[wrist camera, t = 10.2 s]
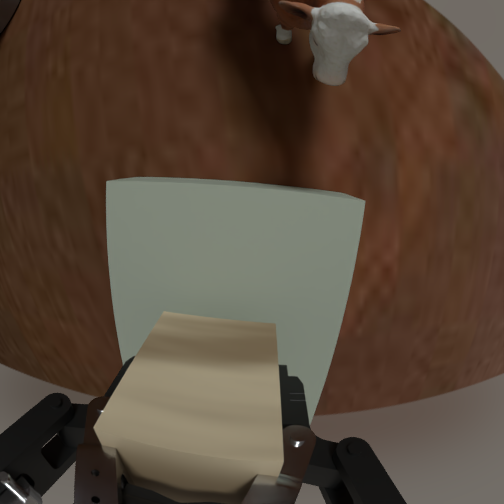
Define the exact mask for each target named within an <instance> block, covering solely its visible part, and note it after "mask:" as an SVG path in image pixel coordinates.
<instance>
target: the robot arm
mask: <svg viewBox="0 0 504 504" xmlns="http://www.w3.org/2000/svg"><path fill="white" fill-rule="evenodd" d="M19 1H20V0H0V33H1V32H2V31H3V29H4V28H5V26H6V25H7V23H8V22H9V20H10V18H11V17H12V15H13V13H14V12H15V10H16V8H17V6H18V4H19ZM134 358H135V356H133V357H131V358H130V359H128V360H127V361H126V362H125V363H124V365H123V367H122V368H121V370H120V371H119V373H118V376H116V378H115V379H114V381H113V383H112V384H111V386H110V387H109V389H108V391H107V392H106V394H105V396H101V397H97V398H95V399H93V400H92V401H91V402H90V403H89V404H73V403H71V402H70V399H69V398H68V397H67V396H66V395H64V394H61V393H53V394H50V395H48V396H46V397H45V398H44V399H43V400H41V401H40V402H39V403H38V404H37V405H35V406H34V407H33V408H32V409H30V410H29V411H28V412H27V413H26V414H25V415H23V416H22V417H21V418H20V419H18V420H17V421H16V422H15V423H14V424H12V425H11V426H10V427H9V428H8V429H6V430H5V431H4V432H3V433H2V434H0V504H42V498H41V497H42V496H43V494H45V493H46V491H47V490H48V489H49V488H50V487H51V486H52V485H53V484H54V483H55V482H56V481H57V480H58V479H59V478H60V477H61V476H62V475H63V474H64V473H65V472H66V470H67V469H68V468H69V467H70V466H71V465H72V464H73V463H74V462H75V461H76V466H75V485H74V503H73V504H225V503H217V502H189V503H181V502H177V501H174V500H172V499H170V498H168V497H165V496H163V495H161V494H159V493H157V492H155V491H153V490H149V489H146V488H142V487H139V486H135V484H134V482H133V480H132V479H131V477H130V475H129V473H128V471H127V469H126V467H125V465H124V463H123V461H122V459H121V457H120V455H119V453H118V451H117V449H116V448H114V447H109V446H104V445H102V444H101V442H100V440H99V438H98V436H97V434H96V432H95V430H94V428H93V427H94V426H95V424H96V422H97V420H98V418H99V417H100V415H101V413H102V411H103V410H104V408H105V406H106V405H107V403H108V401H109V399H110V398H111V396H112V394H113V393H114V391H115V389H116V388H117V386H118V384H119V382H120V381H121V379H122V377H123V376H124V374H125V372H126V371H127V369H128V368H129V366H130V364H131V363H132V361H133V359H134ZM278 365H279V364H278ZM279 381H280V397H281V415H282V434H283V454H284V463H283V466H282V468H281V471H280V474H279V476H278V477H276V476H269V475H261V474H258V475H257V477H256V478H255V480H254V482H253V484H252V486H251V488H250V489H249V491H248V493H247V495H246V497H245V498H244V500H243V502H242V504H295V501H296V499H297V496H298V494H299V491H300V489H301V486H302V483H306V484H311V485H316V486H319V489H320V491H321V493H322V495H323V498H324V500H325V502H326V504H407V503H406V502H405V500H404V499H403V497H402V496H401V494H400V492H399V491H398V490H397V488H396V486H395V485H394V483H393V482H392V480H391V479H390V477H389V475H388V474H387V472H386V471H385V469H384V467H383V466H382V464H381V463H380V461H379V460H378V458H377V456H376V455H375V453H374V452H373V450H372V449H371V447H370V446H369V444H368V443H367V442H366V441H364V440H362V439H360V438H356V437H349V438H345V439H343V440H341V441H340V442H339V443H336V442H331V441H327V440H323V439H321V438H319V437H317V436H316V435H315V434H314V433H313V431H312V430H311V429H310V425H309V418H308V411H307V405H306V398H305V392H304V385H303V383H302V382H301V380H300V379H299V378H298V376H288V370H287V365H279ZM56 433H57V435H56V436H55V437H54V438H52V437H53V436H54V435H55V434H56ZM51 438H52V440H50V439H51ZM49 440H50V441H49ZM48 441H49V442H48ZM47 442H48V443H47ZM45 443H47V444H46V445H45ZM44 445H45V446H44ZM43 446H44V447H43ZM42 447H43V448H42Z"/></svg>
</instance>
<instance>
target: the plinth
mask: <svg viewBox="0 0 504 504" xmlns="http://www.w3.org/2000/svg"><path fill="white" fill-rule="evenodd" d="M364 207H365V201H364V200H361V199H358V198H355V197H352V196H350V195H347V194H344V193H339V192H332V191H325V190H317V189H309V188H301V187H292V186H283V185H273V184H262V183H251V182H239V181H225V180H210V179H191V178H166V177H134V178H126V179H118V180H111V181H106V224H107V247H108V262H109V274H110V284H111V293H112V302H113V309H114V316H115V323H116V329H117V335H118V341H119V347H120V352H121V357H122V362H123V365H124V363H125V362H126V361H127V360H128V359H130V358H131V357H133V356H136V354H137V353H138V351H139V350H140V348H141V346H142V345H143V343H144V342H145V340H146V338H147V337H148V335H149V334H150V332H151V331H152V329H153V327H154V326H155V324H156V323H157V321H158V320H159V318H160V316H161V315H162V313H163V312H164V311H166V312H173V313H180V314H188V315H195V316H203V317H212V318H221V319H230V320H240V321H251V322H262V323H275V324H276V335H277V350H278V364H279V365H287V370H288V376H298V378H299V379H300V380H301V382H302V383H303V385H304V392H305V398H306V405H307V411H308V418H309V425H310V424H311V421H312V418H313V415H314V413H315V410H316V407H317V404H318V401H319V398H320V395H321V392H322V389H323V386H324V383H325V380H326V376H327V373H328V370H329V367H330V363H331V360H332V356H333V353H334V349H335V346H336V342H337V339H338V335H339V331H340V327H341V323H342V319H343V315H344V311H345V307H346V303H347V299H348V294H349V290H350V285H351V281H352V276H353V271H354V266H355V261H356V256H357V250H358V245H359V239H360V233H361V227H362V221H363V214H364Z"/></svg>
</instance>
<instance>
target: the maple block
mask: <svg viewBox="0 0 504 504" xmlns="http://www.w3.org/2000/svg"><path fill="white" fill-rule="evenodd" d="M93 428H94V430H95V432H96V434H97V436H98V438H99V440H100V442H101V444H102V445H104V446H109V447H114V448H116V449H117V451H118V453H119V455H120V457H121V459H122V461H123V463H124V465H125V467H126V469H127V471H128V473H129V475H130V477H131V479H132V480H133V482H134V484H135V486H139V487H142V488H146V489H149V490H153V491H155V492H157V493H159V494H161V495H163V496H165V497H168V498H170V499H172V500H174V501H177V502H181V503H189V502H217V503H225V504H242V502H243V500H244V498H245V497H246V495H247V493H248V491H249V489H250V488H251V486H252V484H253V482H254V480H255V478H256V477H257V475H258V474H261V475H269V476H276V477H278V476H279V474H280V471H281V468H282V466H283V463H284V454H283V434H282V415H281V397H280V381H279V365H278V350H277V335H276V324H275V323H262V322H251V321H240V320H230V319H221V318H212V317H203V316H195V315H188V314H180V313H173V312H166V311H164V312H163V313H162V315H161V316H160V318H159V320H158V321H157V323H156V324H155V326H154V327H153V329H152V331H151V332H150V334H149V335H148V337H147V338H146V340H145V342H144V343H143V345H142V346H141V348H140V350H139V351H138V353H137V354H136V356H135V358H134V359H133V361H132V363H131V364H130V366H129V368H128V369H127V371H126V372H125V374H124V376H123V377H122V379H121V381H120V382H119V384H118V386H117V388H116V389H115V391H114V393H113V394H112V396H111V398H110V399H109V401H108V403H107V405H106V406H105V408H104V410H103V411H102V413H101V415H100V417H99V418H98V420H97V422H96V424H95V426H94V427H93Z"/></svg>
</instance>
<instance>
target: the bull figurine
mask: <svg viewBox="0 0 504 504" xmlns="http://www.w3.org/2000/svg"><path fill="white" fill-rule="evenodd" d="M270 2H271V4H272V5H273V7H274V9H275V11H276V12H277V17H278V20H279V21H280V25H277V26H276V27H275V28H276V30H277V33H276V40H277V41H278V42H279V43H281V44H289V43H290V42H291V40H292V32H291V29H293V28H294V27H296V28H299V29H306V30H308V29H310V30H311V32H310V36H309V42H310V46H311V50H312V52H313V54H314V57H315V61H314V64H313V76H314V77H315V79H317V80H318V81H320V82H322V83H325V84H328V85H332V86H338V85H341V84H343V83H344V82H345V80H346V76H347V71H348V64H349V63H350V61H351V60H352V59H353V58H354V57H355V56H356V55H357V54H358V53H360V52H361V50H362V49H363V48H364V47H365V46H367V44H368V35H386V34H392V33H397V32H400V31H401V29H400V28H398V27H395V26H389V25H385V24H378V23H372V22H371V21H370V20H369V19H368V18H367V17H366V16H365V15H364V1H363V0H270Z"/></svg>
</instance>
